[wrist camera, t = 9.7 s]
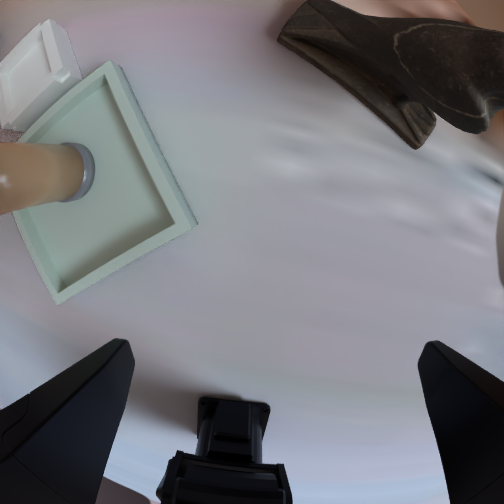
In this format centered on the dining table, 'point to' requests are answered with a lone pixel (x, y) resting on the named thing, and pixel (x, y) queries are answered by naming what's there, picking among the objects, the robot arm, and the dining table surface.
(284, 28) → the sculpture
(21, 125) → the tray
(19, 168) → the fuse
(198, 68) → the dining table surface
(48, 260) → the tray
